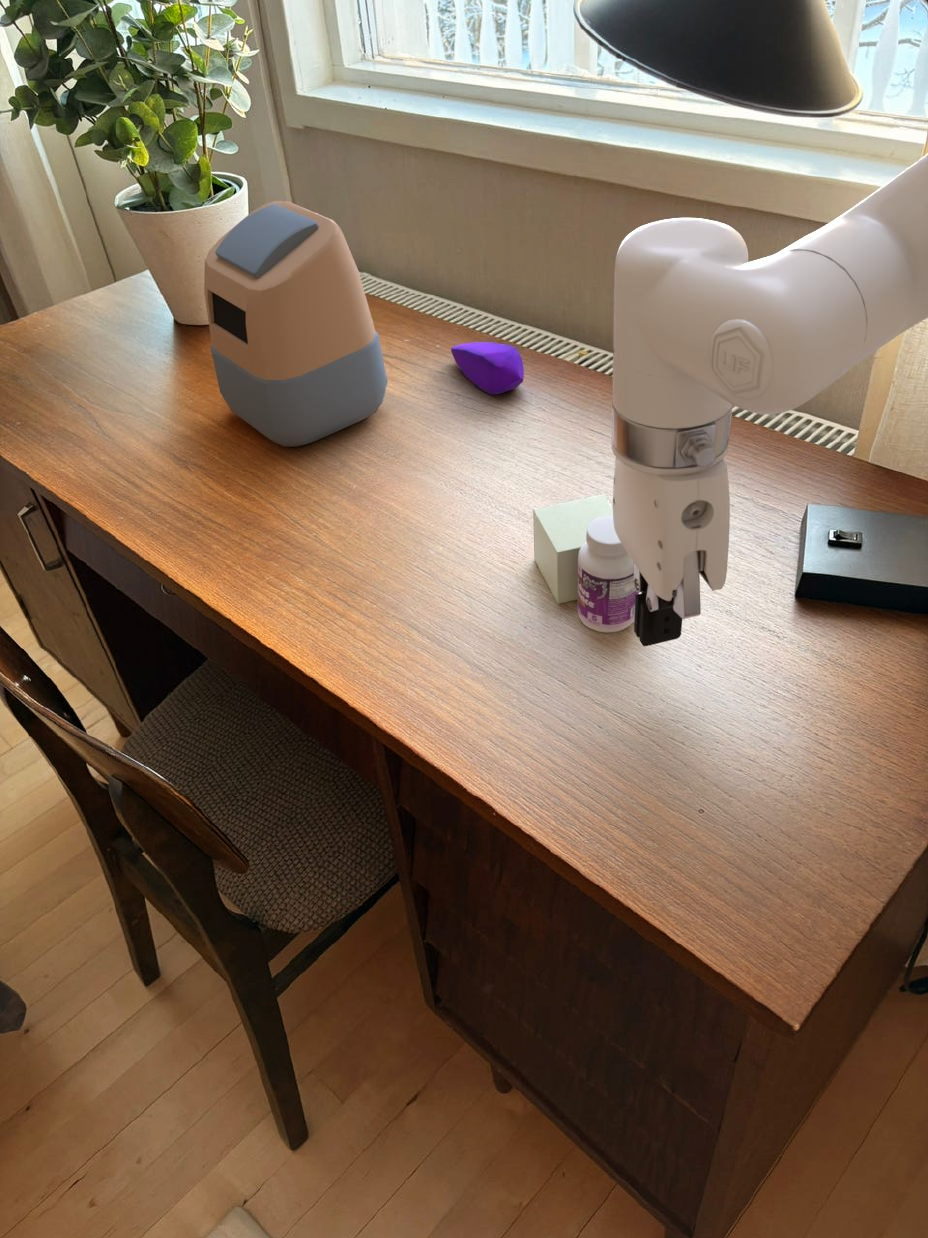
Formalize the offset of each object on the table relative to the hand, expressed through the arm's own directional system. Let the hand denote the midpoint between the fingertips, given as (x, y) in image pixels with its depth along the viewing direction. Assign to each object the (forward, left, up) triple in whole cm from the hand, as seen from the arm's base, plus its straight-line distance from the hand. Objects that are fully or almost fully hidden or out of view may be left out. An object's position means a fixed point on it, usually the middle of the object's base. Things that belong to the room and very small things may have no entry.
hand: (657, 635), depth 73 cm
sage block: (+13, -11, -7) cm, 18 cm away
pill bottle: (+8, -7, -7) cm, 12 cm away
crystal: (+42, -39, -7) cm, 57 cm away
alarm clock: (+57, -22, -7) cm, 61 cm away
